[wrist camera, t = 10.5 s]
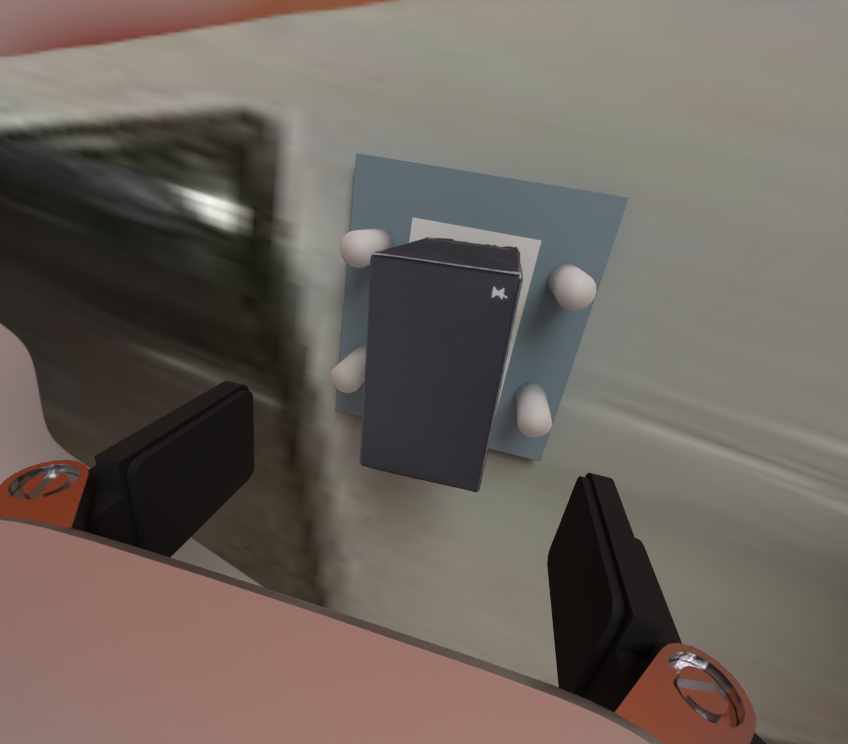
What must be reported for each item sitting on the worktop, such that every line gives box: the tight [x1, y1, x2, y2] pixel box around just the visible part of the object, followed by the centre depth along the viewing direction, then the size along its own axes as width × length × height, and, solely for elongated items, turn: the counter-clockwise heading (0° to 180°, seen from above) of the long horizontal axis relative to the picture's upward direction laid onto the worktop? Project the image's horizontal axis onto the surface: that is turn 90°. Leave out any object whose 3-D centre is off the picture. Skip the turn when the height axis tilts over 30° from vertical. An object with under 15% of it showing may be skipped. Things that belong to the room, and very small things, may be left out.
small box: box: [360, 237, 523, 492], centre depth 22 cm, size 11×6×10 cm, turn 174°
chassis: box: [331, 153, 628, 461], centre depth 25 cm, size 16×18×5 cm
